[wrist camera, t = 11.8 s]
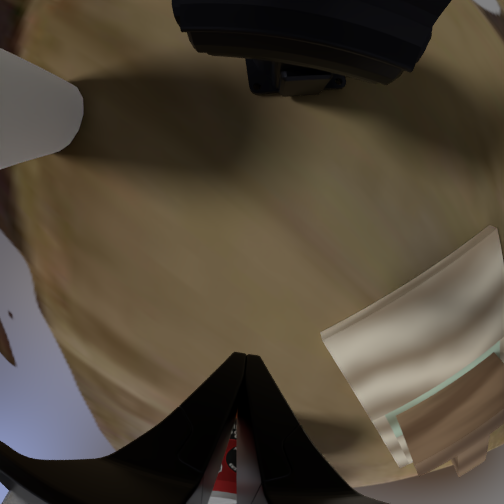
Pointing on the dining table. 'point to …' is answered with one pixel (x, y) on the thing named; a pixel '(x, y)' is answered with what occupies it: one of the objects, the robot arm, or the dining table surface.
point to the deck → (423, 335)
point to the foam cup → (34, 111)
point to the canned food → (227, 474)
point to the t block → (457, 420)
